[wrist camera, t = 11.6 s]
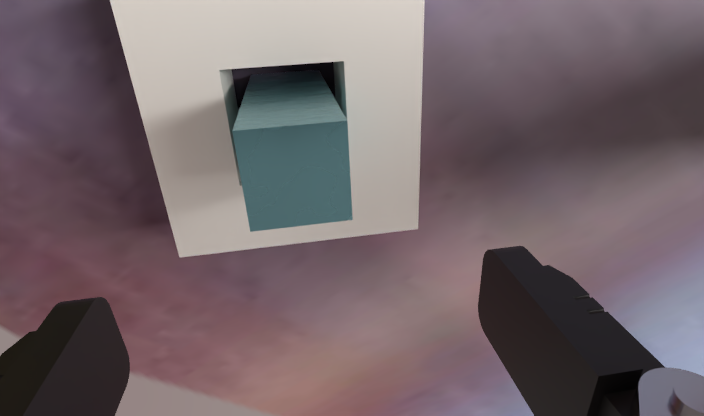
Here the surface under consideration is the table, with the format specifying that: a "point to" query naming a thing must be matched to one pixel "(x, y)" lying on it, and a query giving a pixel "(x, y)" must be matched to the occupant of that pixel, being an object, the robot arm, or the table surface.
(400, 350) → the table surface
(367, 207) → the well block
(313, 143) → the bracket post
